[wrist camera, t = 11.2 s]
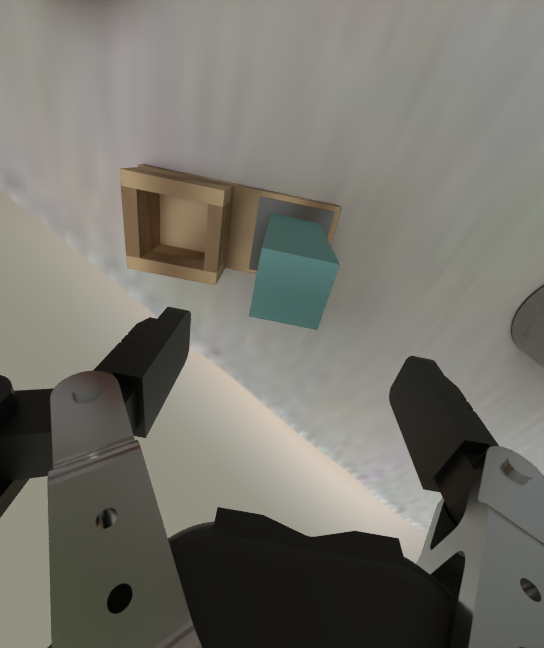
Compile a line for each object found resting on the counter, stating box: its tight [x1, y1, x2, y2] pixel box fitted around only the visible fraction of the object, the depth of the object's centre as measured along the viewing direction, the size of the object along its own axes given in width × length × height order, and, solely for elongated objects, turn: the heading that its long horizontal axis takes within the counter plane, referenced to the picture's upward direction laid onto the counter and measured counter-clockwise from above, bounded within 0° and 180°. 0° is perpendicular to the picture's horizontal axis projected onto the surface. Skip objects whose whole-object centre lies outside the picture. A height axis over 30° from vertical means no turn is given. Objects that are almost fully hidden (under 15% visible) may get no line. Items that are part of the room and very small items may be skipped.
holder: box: [120, 164, 341, 285], centre depth 23 cm, size 16×7×5 cm, turn 79°
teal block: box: [249, 212, 339, 330], centre depth 20 cm, size 4×4×10 cm
